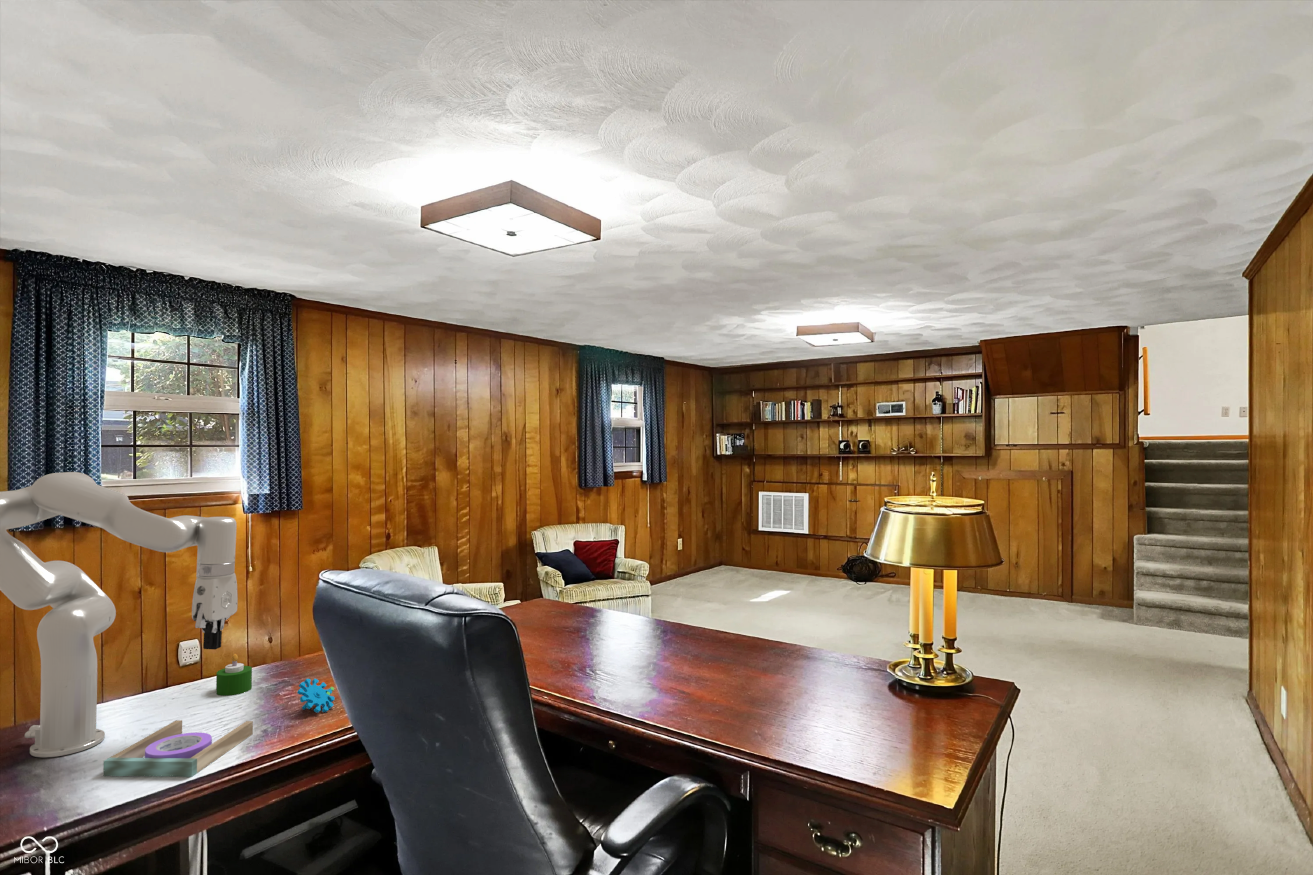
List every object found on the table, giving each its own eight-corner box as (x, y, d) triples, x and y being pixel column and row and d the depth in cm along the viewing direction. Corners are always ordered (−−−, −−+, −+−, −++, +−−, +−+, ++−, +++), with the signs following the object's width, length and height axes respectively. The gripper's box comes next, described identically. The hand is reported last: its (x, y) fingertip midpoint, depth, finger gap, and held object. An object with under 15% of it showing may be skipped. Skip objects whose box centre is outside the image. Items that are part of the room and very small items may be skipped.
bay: (103, 775, 138) (103, 760, 138) (175, 733, 158) (175, 720, 158) (191, 776, 137) (192, 761, 137) (252, 733, 158) (252, 721, 158)
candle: (210, 696, 181) (211, 659, 181) (223, 686, 189) (224, 650, 189) (244, 694, 183) (245, 657, 183) (256, 684, 191) (256, 648, 191)
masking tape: (160, 751, 149) (160, 734, 149) (220, 746, 152) (220, 729, 152) (133, 776, 138) (133, 757, 138) (198, 770, 141) (199, 751, 141)
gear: (313, 713, 166) (294, 680, 169) (297, 729, 167) (278, 695, 170) (345, 703, 177) (326, 672, 180) (330, 718, 177) (312, 687, 180)
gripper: (210, 576, 152) (206, 658, 152) (251, 565, 167) (247, 640, 167) (177, 574, 152) (173, 657, 152) (220, 564, 167) (217, 639, 167)
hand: (212, 648), depth 159 cm, fingers closed
